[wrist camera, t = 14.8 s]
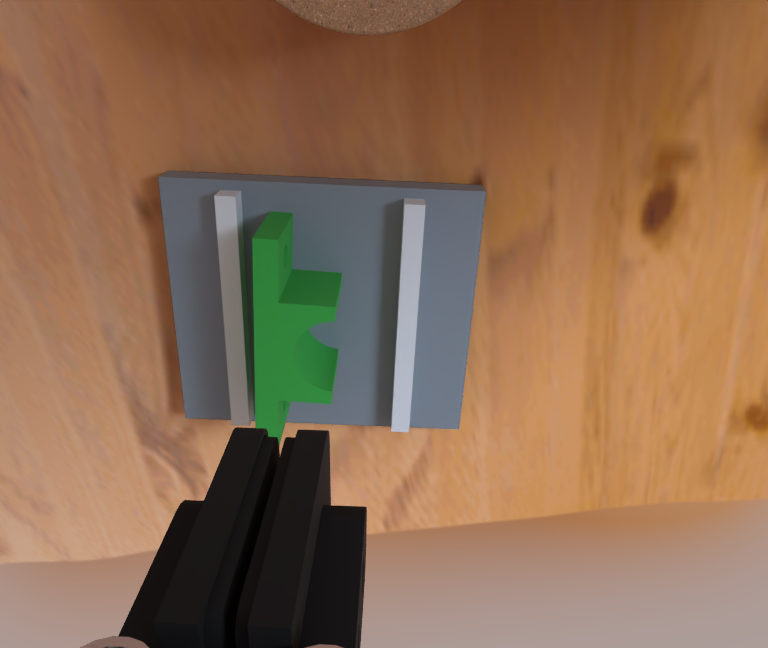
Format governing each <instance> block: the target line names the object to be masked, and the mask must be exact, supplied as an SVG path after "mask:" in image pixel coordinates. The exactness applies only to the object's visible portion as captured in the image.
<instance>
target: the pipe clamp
mask: <svg viewBox="0 0 768 648" xmlns="http://www.w3.org/2000/svg"><path fill="white" fill-rule="evenodd" d="M292 234H293V213H286V212H272V211H270V213H269V214H268V215H267V217H266V218H265V220H264V221H263V223H262V224H261V226H260V227H259V229H258V230H257V232H256V233H255V235H254V236H253V238H252V253H253V308H254V364H255V419H256V428H265V429H267V431H268V437H277V438H278V441H279V444H280V441H281V437H282V433H283V429H284V426H285V422H286V418H287V414H288V411H289V407H290V403H291V401H292V402H307V403H321V404H331V402H332V396H333V389H334V383H335V376H336V370H337V364H338V350H339V349H337V348H331V347H328V346H326V345H324V344H322V343H320V342H319V341H318V340H316V339H315V338H314V337H313V335H312V334H311V333H310V331H309V328H310V327H312V326H314V325H317V324H320V323H324V322H335V318H336V313H337V308H338V302H339V297H340V292H341V286H342V273H338V272H324V271H311V270H297V269H292Z"/></svg>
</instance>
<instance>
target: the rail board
mask: <svg viewBox="0 0 768 648" xmlns="http://www.w3.org/2000/svg"><path fill="white" fill-rule="evenodd" d="M158 181H159V190H160V199H161V208H162V216H163V225H164V234H165V243H166V251H167V260H168V269H169V278H170V286H171V295H172V304H173V313H174V321H175V330H176V339H177V347H178V356H179V365H180V374H181V382H182V391H183V400H184V409H185V417H186V418H194V419H218V420H231V422H232V425H245V426H250V423H251V421H256V419H255V364H254V308H253V253H252V238H253V236H254V235H255V233H256V232H257V230H258V229H259V227H260V226H261V224H262V223H263V221H264V220H265V218H266V217H267V215H268V214H269V213H270V211H272V212H286V213H293V234H292V269H297V270H311V271H324V272H338V273H342V286H341V292H340V297H339V302H338V308H337V313H336V318H335V322H324V323H320V324H317V325H314V326H312V327H310V328H309V331H310V333H311V334H312V335H313V337H314V338H315V339H316V340H318V341H319V342H320V343H322V344H324V345H326V346H328V347H331V348H337V349H339V350H338V364H337V370H336V376H335V383H334V389H333V396H332V402H331V404H321V403H307V402H292V401H291V403H290V407H289V411H288V414H287V418H286V422H292V423H316V424H341V425H366V426H390V427H391V431H392V432H409V427H415V428H439V429H459V425H460V416H461V407H462V399H463V390H464V381H465V373H466V364H467V355H468V347H469V338H470V329H471V320H472V312H473V303H474V294H475V286H476V277H477V268H478V260H479V251H480V242H481V233H482V225H483V216H484V207H485V199H486V190H485V189H484V187H483V186H482V185H474V184H452V183H429V182H407V181H385V180H363V179H341V178H318V177H296V176H274V175H252V174H229V173H207V172H185V171H167V172H165V173H164V174H162V175H160V176H159V177H158Z"/></svg>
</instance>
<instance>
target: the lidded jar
mask: <svg viewBox="0 0 768 648" xmlns="http://www.w3.org/2000/svg"><path fill="white" fill-rule="evenodd" d="M275 1H276V2H277V3H279V4H280V5H282V6H283V7H285V8H286V9H288V10H289V11H291V12H292V13H293V14H295V15H296V16H298V17H300V18H302V19H305V20H307V21H309V22H311V23H313V24H315V25H317V26H319V27H323V28H326V29H330V30H333V31H337V32H341V33H345V34H355V35H365V36H371V35H385V34H393V33H397V32H401V31H405V30H409V29H413V28H416V27H418V26H420V25H423V24H425V23H427V22H429V21H432V20H434V19H436V18H438V17H439V16H441V15H442V14H444V13H445V12H447V11H449V10H450V9H452V8H453V7H455V6H456V5H458V4H459V3H460V2H461V1H462V0H275Z"/></svg>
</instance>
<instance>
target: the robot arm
mask: <svg viewBox="0 0 768 648" xmlns="http://www.w3.org/2000/svg"><path fill="white" fill-rule="evenodd" d="M366 522H367V509H366V507H357V506H331V494H330V441H329V431H322V430H298V431H297V434H296V438H291V437H286V438H285V441H284V445H283V448H282V452H281V455H280V454H279V441H278V438H277V437H268V431H267V429H265V428H235V429H234V430H233V432H232V435H231V437H230V439H229V442H228V444H227V447H226V449H225V451H224V454H223V456H222V459H221V461H220V463H219V466H218V468H217V471H216V473H215V476H214V478H213V480H212V483H211V485H210V488H209V490H208V492H207V495H206V497H205V500H204V501H192V500H184V501H183V502H182V503H181V504H180V506H179V507H178V509H177V511H176V513H175V515H174V517H173V519H172V522H171V524H170V526H169V528H168V530H167V532H166V535H165V537H164V539H163V541H162V543H161V545H160V547H159V550H158V552H157V554H156V556H155V558H154V561H153V563H152V565H151V567H150V569H149V571H148V574H147V576H146V578H145V580H144V582H143V585H142V586H141V588H140V591H139V593H138V595H137V597H136V600H135V602H134V604H133V606H132V608H131V610H130V612H129V615H128V617H127V619H126V621H125V623H124V625H123V627H122V630H121V632H120V634H119V636H112V637H108V638H104V639H99V640H95V641H93V642H91V643H89V644H87V645H85V646H83V647H80V648H360V642H361V627H362V613H363V597H364V582H365V559H366Z"/></svg>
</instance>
